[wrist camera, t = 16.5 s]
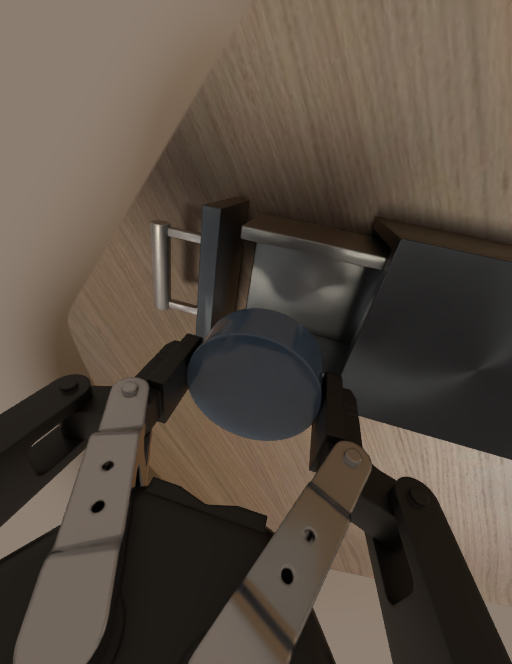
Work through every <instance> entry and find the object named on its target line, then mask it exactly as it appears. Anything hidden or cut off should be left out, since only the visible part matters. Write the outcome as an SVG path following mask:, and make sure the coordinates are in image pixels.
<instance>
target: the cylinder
mask: <svg viewBox="0 0 512 664" xmlns="http://www.w3.org/2000/svg"><path fill="white" fill-rule="evenodd" d="M186 379H187V385H188V389H189V392H190V394H191V397H192V399H193V400H194V402H195V404H196V405H197V406H198V408H199V409H200V410H201V411H202V412H203V414H204V415H205V416H207V417H208V418H209V419H210V420H211V421H212V422H214V423H215V424H216V425H218V426H220V427H221V428H223V429H225V430H227V431H229V432H231V433H233V434H236V435H238V436H241V437H244V438H249V439H253V440H260V441H277V440H283V439H287V438H291V437H293V436H296V435H298V434H300V433H302V432H303V431H305V430H306V429H307V428H309V427H310V425H311V424H312V423H313V422H314V421H315V419H316V418H317V416H318V414H319V411H320V409H321V405H322V386H323V358H322V354H321V350H320V348H319V346H318V343H317V342H316V340H315V339H314V337H313V336H312V335H311V333H310V332H309V331H308V330H307V329H306V328H305V327H304V326H303V325H302V324H300V323H299V322H297V321H296V320H295V319H293V318H291V317H289V316H287V315H285V314H283V313H280V312H277V311H273V310H270V309H262V308H250V309H243V310H239V311H235V312H233V313H230V314H228V315H227V316H225V317H223V318H222V319H221V320H219V321H218V322H217V323H216V324H215V325H214V327H213V328H212V329H211V330H210V332H209V333H208V334H207V336H206V337H205V338H204V340H203V341H202V342H201V344H200V345H199V346H198V347H197V349H196V350H195V351H194V353H193V354H192V356H191V358H190V360H189V363H188V366H187V375H186Z"/></svg>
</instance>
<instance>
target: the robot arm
mask: <svg viewBox="0 0 512 664" xmlns="http://www.w3.org/2000/svg"><path fill="white" fill-rule="evenodd" d="M202 341H203V337H200V336H196V335H192V334H189V333H188V334H186V335H185V337H184V338H183V339H182V340H181V341H180V342H179V341H176V340H175V341H172V342H170V343H168V344H166V345H165V346H164V347H163V348H162V349H161V350H160V351H159V353H157V354H156V355H155V356H154V358H153V359H152V360H151V361H150V362H149V363H148V364H147V365H146V366H145V367H144V368H143V369H142V370H141V371H140V372H139V373H138V374H137V375H136V376H135V377H130V378H125V379H122V380H120V381H118V382H117V383H115V384H114V385H113V386H91V384H90V380H89V379H88V378H87V377H86V376H83V375H78V374H74V375H68V376H64V377H61V378H59V379H57V380H55V381H53V382H52V383H50V384H49V385H47V386H45V387H44V388H42V389H40V390H39V391H37V392H36V393H34V394H33V395H31V396H29V397H28V398H26V399H24V400H23V401H21V402H20V403H18V404H16V405H15V406H13V407H11V408H10V409H8V410H7V411H5V412H3V413H2V414H0V527H1V526H2V525H3V524H4V523H5V522H6V521H7V520H8V519H10V517H12V516H13V515H14V514H15V513H16V512H17V511H18V510H19V509H20V508H21V507H23V506H24V505H25V504H26V503H27V502H28V501H29V500H30V499H31V498H32V497H33V496H34V495H36V494H37V493H38V492H39V491H40V490H41V489H42V488H43V487H44V486H45V485H46V484H48V483H49V482H50V481H51V480H52V479H53V478H54V477H55V476H56V475H57V474H58V473H59V472H61V471H62V470H63V469H64V468H65V467H66V466H67V465H68V464H69V463H70V462H71V461H72V460H73V459H75V458H76V457H77V456H78V455H79V454H80V453H81V452H82V451H83V450H84V449H85V448H86V450H85V453H84V456H83V459H82V462H81V465H80V468H79V471H78V474H77V477H76V480H75V483H74V487H73V490H72V493H71V496H70V499H69V502H68V505H67V508H66V512H65V514H64V517H63V520H62V523H61V525H59V526H57V527H56V528H54V529H52V530H51V531H49V532H47V533H45V534H44V535H42V536H40V537H38V538H37V539H35V540H33V541H31V542H30V543H28V544H26V545H25V546H23V547H21V548H19V549H18V550H16V551H14V552H12V553H11V554H9V555H8V556H6V557H4V558H2V559H1V560H0V664H336V663H335V660H334V658H333V655H332V653H331V650H330V648H329V646H328V643H327V641H326V638H325V636H324V633H323V631H322V628H321V626H320V624H319V621H318V619H317V617H316V614H315V611H314V609H313V605H314V603H315V601H316V598H317V596H318V594H319V592H320V589H321V587H322V585H323V583H324V580H325V578H326V576H327V574H328V571H329V569H330V567H331V565H332V563H333V560H334V558H335V556H336V554H337V551H338V549H339V547H340V545H341V543H342V540H343V538H344V536H345V534H346V531H347V529H348V527H349V525H350V522H352V523H354V524H355V525H356V526H358V527H359V528H361V529H362V530H363V531H364V532H365V536H366V541H367V545H368V550H369V555H370V559H371V564H372V569H373V573H374V578H375V583H376V586H377V592H378V596H379V601H380V606H381V610H382V615H383V620H384V624H385V629H386V633H387V638H388V643H389V648H390V652H391V657H392V661H393V664H512V662H511V660H510V658H509V656H508V654H507V652H506V649H505V647H504V645H503V643H502V640H501V638H500V636H499V634H498V632H497V629H496V627H495V625H494V623H493V621H492V618H491V616H490V614H489V612H488V610H487V607H486V605H485V603H484V601H483V599H482V596H481V594H480V592H479V590H478V588H477V585H476V583H475V581H474V579H473V577H472V574H471V572H470V570H469V568H468V566H467V563H466V561H465V559H464V557H463V555H462V553H461V550H460V548H459V546H458V544H457V542H456V539H455V537H454V535H453V533H452V531H451V528H450V526H449V524H448V522H447V520H446V517H445V515H444V513H443V511H442V509H441V506H440V504H439V502H438V500H437V498H436V497H435V495H434V494H433V493H432V491H431V490H430V489H429V488H428V487H427V486H426V485H424V484H423V483H422V482H420V481H418V480H416V479H414V478H411V477H401V478H399V479H398V480H397V481H396V480H395V479H393V478H391V477H390V476H388V475H386V474H385V473H383V472H382V471H380V470H379V469H377V468H376V467H375V466H374V465H373V464H372V462H371V459H370V457H369V455H368V454H367V453H366V451H365V450H364V449H363V447H362V440H361V432H360V424H359V418H358V410H357V409H358V408H357V400H356V398H355V396H354V394H353V393H352V391H351V390H349V389H346V388H343V380H342V376H340V375H336V374H333V373H329V372H325V374H324V376H323V386H322V405H321V409H320V411H319V414H318V416H317V418H316V419H315V421H314V422H313V423H312V432H311V447H310V462H309V470H310V471H313V472H316V474H315V476H314V477H313V479H312V480H311V482H309V483H308V484H307V486H306V487H305V489H304V490H303V492H302V493H301V495H300V496H299V498H298V499H297V501H296V502H295V504H294V505H293V507H292V508H291V510H290V511H289V513H288V514H287V516H286V517H285V519H284V520H283V522H282V523H281V525H280V526H279V528H278V529H277V531H276V532H275V533H274V532H273V531H272V530H271V529H269V528H268V527H267V526H266V521H267V516H265V515H263V514H260V513H257V512H254V511H251V510H248V509H245V508H242V507H239V506H224V505H207V504H205V503H203V502H202V501H200V500H199V499H197V498H196V497H195V496H193V495H192V494H191V493H189V492H188V491H186V490H185V489H184V488H182V487H181V486H178V485H175V484H172V483H170V482H167V481H164V480H161V479H158V478H155V477H153V479H152V481H151V482H150V484H149V486H148V466H149V457H150V448H151V439H152V428H153V426H154V425H155V423H156V422H157V421H158V422H161V423H166V422H167V420H168V419H169V417H170V416H171V414H172V413H173V411H174V409H175V408H176V406H177V405H178V403H179V402H180V400H181V399H182V397H183V396H184V394H185V393H186V391H187V390H188V385H187V379H186V375H187V366H188V363H189V360H190V358H191V356H192V354H193V353H194V351H195V350H196V349H197V347H198V346H199V345H200V344H201V342H202ZM57 425H59V426H58V427H57V428H55V429H54V430H53V431H51V432H50V433H49V434H48V435H46V436H45V437H44V438H42V439H41V440H40V441H39V442H37V443H36V444H35V445H33V444H34V443H35V442H36V441H37V440H38V439H40V438H41V437H42V436H43V435H45V434H46V433H48V432H49V431H50V430H52V429H53V428H54V427H55V426H57ZM32 445H33V446H32ZM31 446H32V447H31ZM30 447H31V448H30Z"/></svg>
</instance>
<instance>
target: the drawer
mask: <svg viewBox="0 0 512 664" xmlns="http://www.w3.org/2000/svg"><path fill="white" fill-rule="evenodd" d="M248 206H249V200H247V199H242V198H237V197H234V198H230V199H226V200H221V201H217V202H213V203H208V204H204V205H202V220H201V233H196V232H192V231H187V230H183V229H179V228H174V227H170V223H169V222H166V221H161V220H153V221H151V222H150V227H151V247H152V268H153V289H154V306H155V308H156V309H159V310H167V309H169V308H173V309H177V310H180V311H184V312H188V313H192V314H195V315H197V322H196V336H200V337H203V340H204V338H205V337H206V336H207V334H208V333H209V332H210V330H211V329H212V328H213V327H214V325H215V324H216V323H217V322H218V321H219V320H221V319H222V318H223V317H225V316H227V315H228V314H230V313H233V312H234V310H235V303H236V295H237V288H238V280H239V273H240V265H241V258H242V250H243V243H244V239H245V240H249V241H253V242H256V248H255V254H254V260H253V266H252V273H251V279H250V285H249V291H248V298H247V304H246V309H250V308H262V309H270V310H273V311H277V312H280V313H283V314H285V315H287V316H289V317H291V318H293V319H295V320H296V321H297V322H299V323H300V324H302V325H303V326H304V327H305V328H306V329H307V330H308V331H309V332H310V333H311V335H312V336H313V337H314V339H315V340H316V342H317V343H318V346H319V348H320V350H321V354H322V358H323V376H324V374H325V372H329V373H333V374H336V375H338V372H339V370H340V368H341V365H342V363H343V361H344V359H345V356H346V354H347V352H348V349H349V347H350V345H351V342H352V340H353V338H354V336H355V333H356V331H357V329H358V326H359V324H360V322H361V319H362V317H363V315H364V312H365V310H366V308H367V306H368V303H369V301H370V299H371V296H372V294H373V292H374V289H375V287H376V285H377V282H378V280H379V278H380V276H381V273H382V271H383V269H384V266H385V264H386V262H387V259H388V257H389V255H390V253H391V250H392V249H391V248H390V247H389V246H388V245H387V243H386V242H385V241H384V240H383V239H381V238H376V237H372V236H367V235H362V234H358V233H353V232H348V231H344V230H339V229H334V228H330V227H325V226H320V225H316V224H311V223H306V222H302V221H297V220H292V219H288V218H283V217H278V216H274V215H269V214H264V213H263V214H261V215H259V216H258V217H256V218H254V219H253V220H251V221H249V222H248V223H246V221H247V213H248ZM171 237H174V238H178V239H182V240H187V241H191V242H195V243H199V244H200V261H199V281H198V302H197V305H193V304H189V303H185V302H181V301H178V300H174V299H171Z"/></svg>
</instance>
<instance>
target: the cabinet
mask: <svg viewBox="0 0 512 664" xmlns="http://www.w3.org/2000/svg"><path fill="white" fill-rule="evenodd" d="M369 236H372V237H376V238H381V239H383V240H384V241H385V242H386V243H387V245H388V246H389V247H390V248H391V249H392V250H391V253H390V255H389V257H388V259H387V262H386V264H385V266H384V269H383V271H382V273H381V276H380V278H379V280H378V282H377V285H376V287H375V289H374V292H373V294H372V296H371V299H370V301H369V303H368V306H367V308H366V310H365V312H364V315H363V317H362V319H361V322H360V324H359V326H358V329H357V331H356V333H355V336H354V338H353V340H352V342H351V345H350V347H349V349H348V352H347V354H346V356H345V359H344V361H343V363H342V365H341V368H340V370H339V372H338V375H340V376H342V380H343V388H346V389H349V390H351V391H352V393H353V394H354V396H355V398H356V400H357V408H358V409H357V410H358V416H362V417H365V418H368V419H372V420H375V421H379V422H382V423H386V424H389V425H393V426H396V427H400V428H403V429H407V430H410V431H414V432H417V433H420V434H424V435H427V436H431V437H434V438H438V439H441V440H445V441H448V442H452V443H455V444H459V445H462V446H466V447H469V448H472V449H476V450H479V451H483V452H486V453H490V454H493V455H497V456H500V457H504V458H507V459H511V460H512V244H507V243H502V242H498V241H493V240H488V239H483V238H478V237H473V236H468V235H464V234H459V233H454V232H449V231H444V230H439V229H434V228H430V227H425V226H420V225H415V224H410V223H405V222H400V221H396V220H391V219H386V218H381V217H375V220H374V222H373V225H372V228H371V230H370V233H369Z"/></svg>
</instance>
